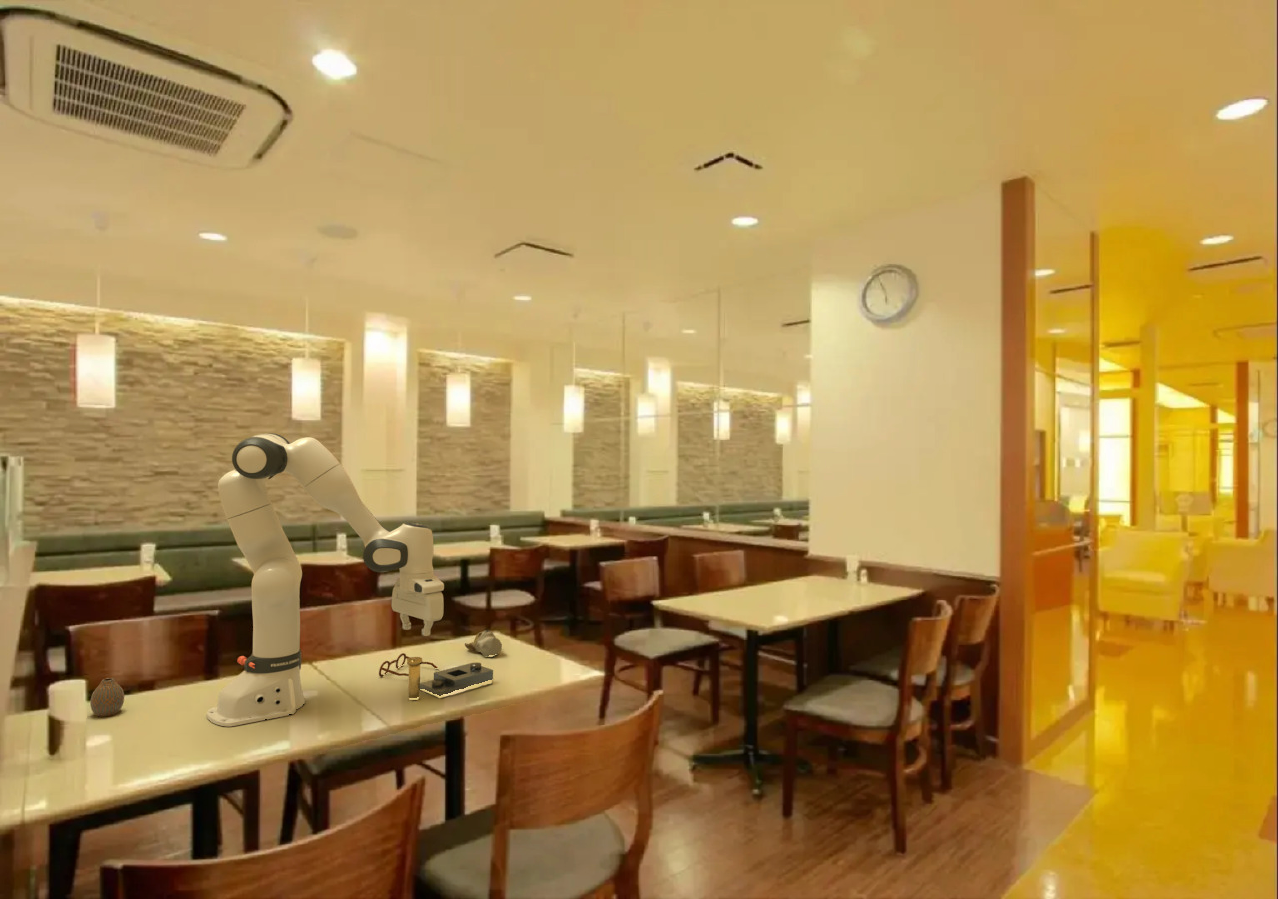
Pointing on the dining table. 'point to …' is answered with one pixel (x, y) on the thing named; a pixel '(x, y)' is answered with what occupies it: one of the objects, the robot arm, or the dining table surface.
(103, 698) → the vase
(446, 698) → the dining table surface
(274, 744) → the dining table surface
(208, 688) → the dining table surface
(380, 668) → the glasses
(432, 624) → the robot arm
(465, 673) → the metal plate with knobs
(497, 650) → the ceramic sculpture
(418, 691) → the pin
